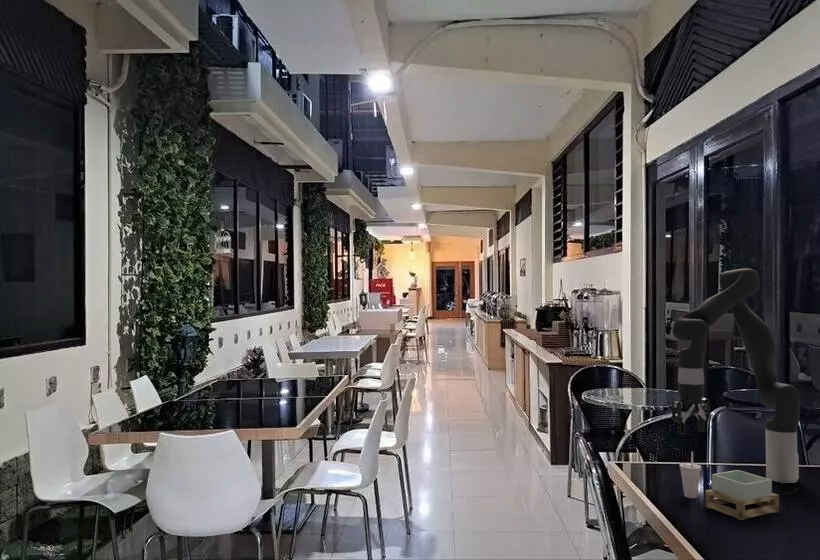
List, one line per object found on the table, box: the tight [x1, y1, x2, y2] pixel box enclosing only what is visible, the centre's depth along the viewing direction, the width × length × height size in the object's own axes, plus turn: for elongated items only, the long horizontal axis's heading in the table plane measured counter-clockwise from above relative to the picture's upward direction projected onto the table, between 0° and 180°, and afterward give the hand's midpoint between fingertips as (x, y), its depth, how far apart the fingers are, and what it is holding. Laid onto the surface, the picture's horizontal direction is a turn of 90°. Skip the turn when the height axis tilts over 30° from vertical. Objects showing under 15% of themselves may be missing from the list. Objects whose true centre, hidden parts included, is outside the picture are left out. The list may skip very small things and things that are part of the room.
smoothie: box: [679, 451, 702, 499], centre depth 197 cm, size 6×6×14 cm
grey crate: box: [711, 469, 773, 501], centre depth 185 cm, size 11×11×5 cm
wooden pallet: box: [704, 488, 780, 521], centre depth 185 cm, size 16×12×5 cm
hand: (691, 432), depth 197 cm, fingers open, 8 cm apart
